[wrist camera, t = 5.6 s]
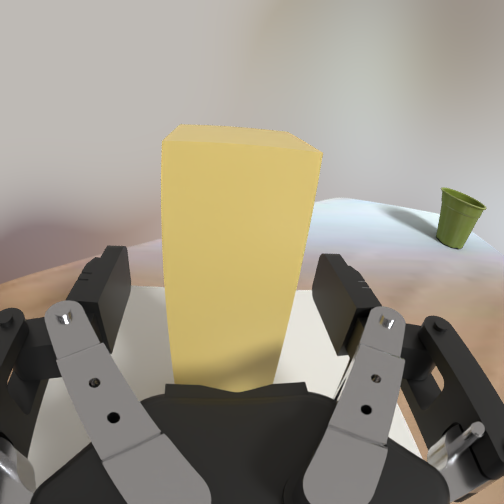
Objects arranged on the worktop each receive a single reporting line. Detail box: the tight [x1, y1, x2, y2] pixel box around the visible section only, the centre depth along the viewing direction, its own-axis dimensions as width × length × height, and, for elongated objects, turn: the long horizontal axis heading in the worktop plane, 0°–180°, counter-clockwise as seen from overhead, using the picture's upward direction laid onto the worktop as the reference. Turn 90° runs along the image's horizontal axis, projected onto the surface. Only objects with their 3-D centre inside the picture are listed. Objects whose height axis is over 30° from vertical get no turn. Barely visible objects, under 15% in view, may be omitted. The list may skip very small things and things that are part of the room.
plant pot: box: [436, 188, 486, 249], centre depth 57 cm, size 12×12×11 cm
